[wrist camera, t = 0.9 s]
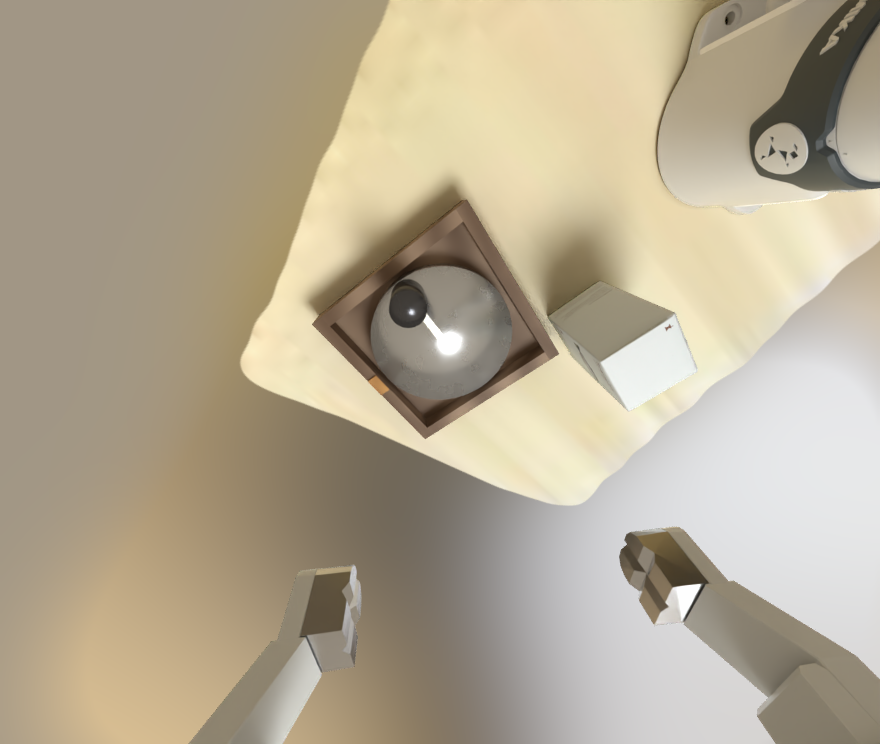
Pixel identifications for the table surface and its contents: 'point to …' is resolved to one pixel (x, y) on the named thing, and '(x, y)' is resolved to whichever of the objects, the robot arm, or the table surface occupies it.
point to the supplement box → (624, 343)
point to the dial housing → (442, 242)
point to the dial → (441, 331)
